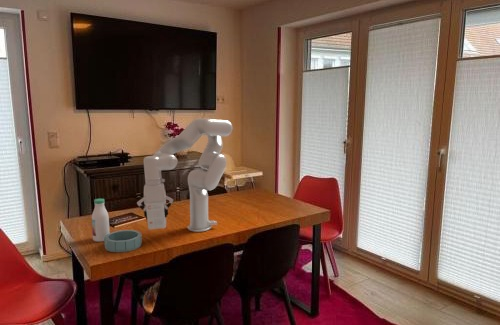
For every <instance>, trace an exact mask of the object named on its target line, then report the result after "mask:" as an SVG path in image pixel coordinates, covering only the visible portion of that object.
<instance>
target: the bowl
mask: <svg viewBox="0 0 500 325" xmlns="http://www.w3.org/2000/svg"><path fill="white" fill-rule="evenodd" d="M142 237H143V236H142V232H140V231H139V230H135V229H121V230H116V231H112V232H110V233H109V234H107V235H106V236H105V238H104V241H103V243H104V248H105V250H106V251H108V252H111V253H127V252H132V251H134V250H135V251H136V250H137V249H139V248H140V247H142V243H143V242H142V241H143V240H142V239H143V238H142Z"/></svg>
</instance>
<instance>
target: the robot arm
mask: <svg viewBox="0 0 500 325" xmlns="http://www.w3.org/2000/svg"><path fill="white" fill-rule="evenodd" d="M232 132H233V124H232V122H230V120H226V119H215V118H214V119H213V118H205V117H202V118H194V119H193V120H192V121H191V122H190V123H189V124H188V125H187V126H186V127H185V128H184V129H183V130H182V131H181V132H180V133H179V135H177V136H175V137H174V138H171V139H170V140H168V141H166V142H165V143H163V145H161V146H160V147H159V148H158V149H157V150H156V151H155V153H153V155H149V156H144V158H143V169H144V170H143V171H144V181H145V183H144V186H143V197H142V198H140V199H139V200H138V201H137V202H136V204H137V206H138V207H139V208H140V209H141V210H142V211H143V214H144V218H145V220H147V212H146V203H154V202H163V205H164V207H165V217H166V218H167V217H168V215H169V211H168V210H169V208H170V207H171V205H172V204H173V202H174V199H173V198H172V197H170V196H169V195H166V188H165V185H164V183H165V182H166V179H165V178H162V177H163V176H162V171H170V170H174V169H175V168H176V167H177V166H178V163H179V161H178V159H177V157H176V156H175V155H174V154H177V153H179V152H182V151H185V150H188V149H191V148H192V147H193V145H194V144H195V143H197V142H198V140H199V139H200V138H201V137H202V136H207V143H206V145H205V148H204V150H203V151H202V153H201V155H200V157H199V160H198V165H199V167H200V168H201V169H193V170H191V171H190V172H189V173H188V175H187V184H188V190H189V217H190V218H189V219H190V220H189V221H190V224H188V226H187V230H188V231H190V232H194V233H195V232H196V233H200V232H206V231H209V230H211V229H212V226H217V225H218V221H217V220H214V219H213V220H210V219H209V194H208V191H212V190H214V189H216V188H217V187H218V185H219V183H220V180H221V178H222V177H223V174H224V172H225V170H226V167H227V158H226V156H225V155H224V154H222V153H221V152H222V150H223V147H224V146H223V145H224V142H223V139H222V137H228V136H230V135H231V134H232ZM202 169H203V170H202ZM206 170H207V171H206ZM167 201H169V202H168V203H167ZM142 203H143V204H144V205H143V204H142Z"/></svg>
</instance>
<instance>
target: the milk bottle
mask: <svg viewBox="0 0 500 325" xmlns="http://www.w3.org/2000/svg"><path fill="white" fill-rule="evenodd" d="M93 202H94V209H93V211H92V214H91V229H92V230H91V231H92V241H94V242H96V243H97V242H99V243H101V242H104V238H105V236H106V235H107V234H109V233H111V232H110V231H111V230H110V219H109V218H110V217H109V212H108V211H107V209H106V206H105V199H104V198H95V199H94V201H93Z"/></svg>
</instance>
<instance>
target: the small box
mask: <svg viewBox="0 0 500 325" xmlns="http://www.w3.org/2000/svg"><path fill="white" fill-rule="evenodd" d="M146 212H147V219H146V221H147V228H148V230H156V229H157V230H159V229H165V228H166V226H167V217H165V207H164V205H163V202H154V203H146Z"/></svg>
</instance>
